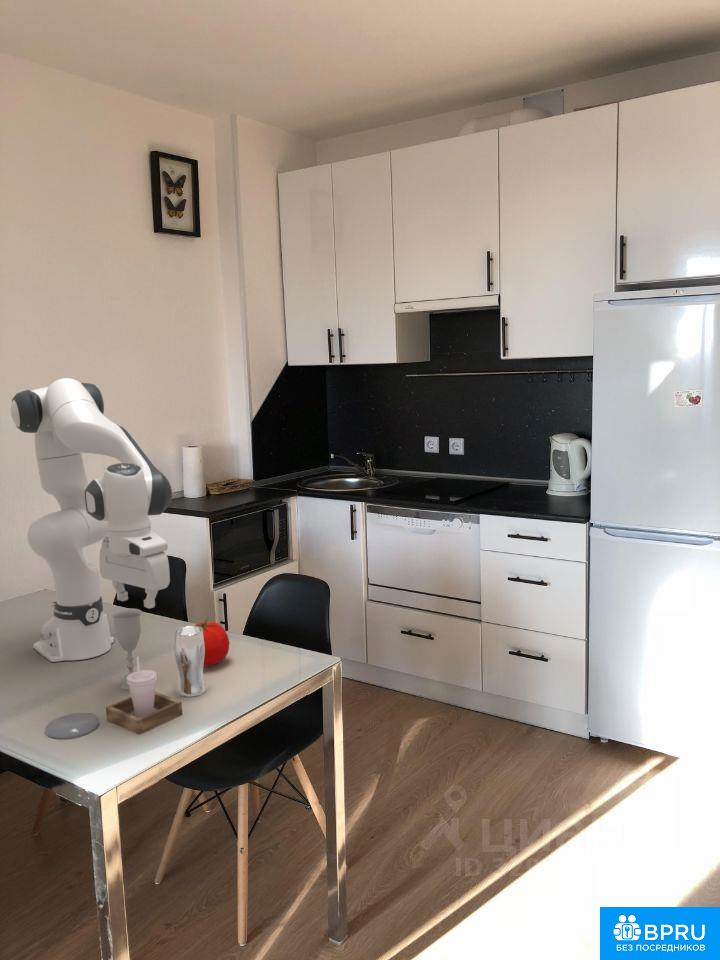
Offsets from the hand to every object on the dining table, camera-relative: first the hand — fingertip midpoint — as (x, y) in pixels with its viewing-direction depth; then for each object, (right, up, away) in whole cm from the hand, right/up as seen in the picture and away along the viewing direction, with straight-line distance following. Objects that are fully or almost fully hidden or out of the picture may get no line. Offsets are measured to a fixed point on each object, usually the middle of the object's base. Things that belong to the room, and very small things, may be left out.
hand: (136, 603), depth 176 cm
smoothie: (+1, -26, +4) cm, 26 cm away
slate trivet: (-14, -27, +1) cm, 30 cm away
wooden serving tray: (+1, -26, +4) cm, 26 cm away
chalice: (-7, -23, +22) cm, 32 cm away
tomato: (+9, -21, +33) cm, 40 cm away
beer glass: (+9, -23, +17) cm, 30 cm away
